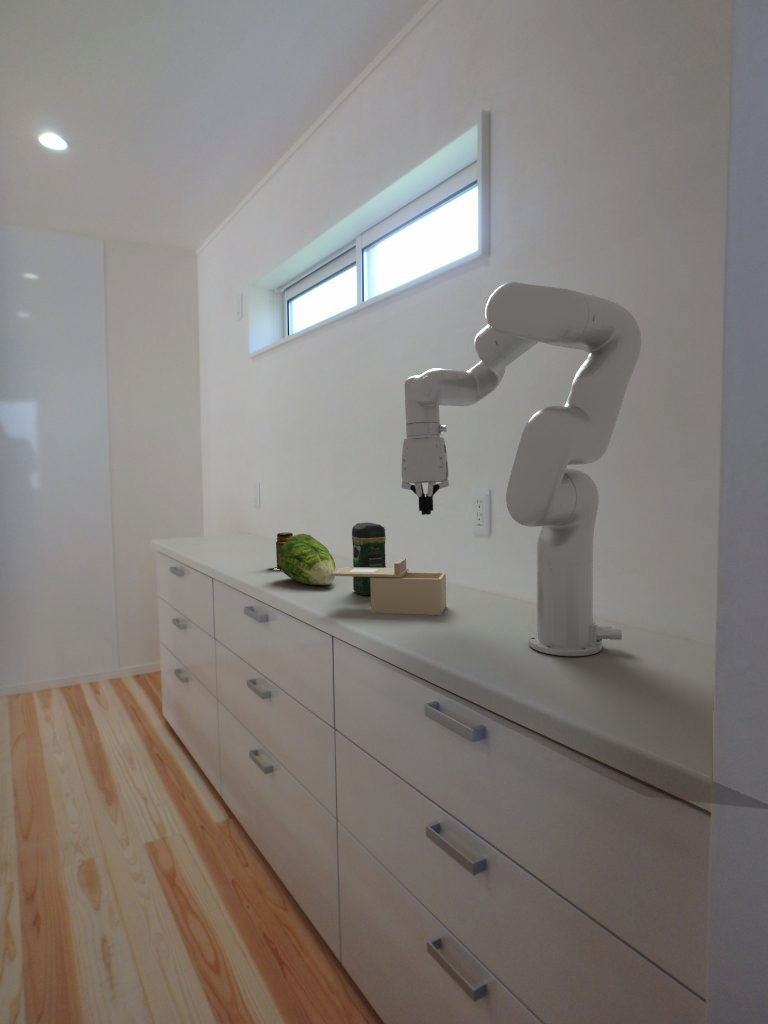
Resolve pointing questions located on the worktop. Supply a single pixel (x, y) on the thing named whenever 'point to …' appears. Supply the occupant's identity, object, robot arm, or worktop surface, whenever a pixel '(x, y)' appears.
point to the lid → (374, 571)
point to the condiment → (280, 542)
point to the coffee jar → (367, 552)
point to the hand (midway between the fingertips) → (426, 514)
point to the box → (409, 594)
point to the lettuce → (307, 560)
